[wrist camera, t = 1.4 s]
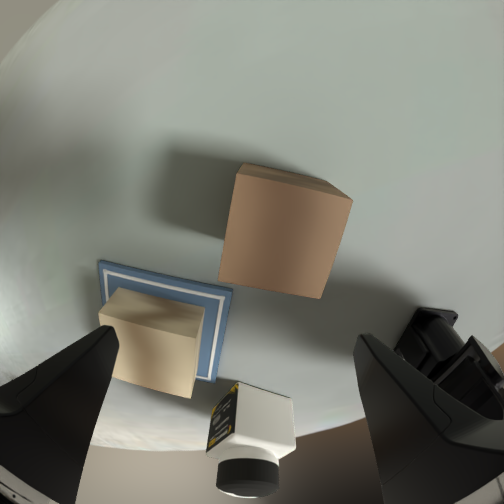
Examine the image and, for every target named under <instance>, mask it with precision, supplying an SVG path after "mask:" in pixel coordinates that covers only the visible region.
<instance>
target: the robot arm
mask: <svg viewBox="0 0 504 504" xmlns="http://www.w3.org/2000/svg"><path fill="white" fill-rule="evenodd" d="M457 318H458V314H457V313H456V312H450V311H442V310H434V309H427V308H419V309H418V310H417V311H416V313H415V315H414V317H413V318H412V320H411V322H410V324H409V326H408V327H407V329H406V331H405V333H404V334H403V336H402V338H401V339H400V341H399V343H398V344H397V346H396V348H395V349H394V351H392V350H391V349H390V348H388V347H387V346H386V345H384V344H383V343H382V342H381V341H379V340H378V339H377V338H375V337H374V336H373V335H371V334H360V335H359V336H358V339H357V342H356V345H355V348H354V352H353V356H354V362H355V368H356V375H357V381H358V387H359V392H360V397H361V400H362V404H363V408H364V412H365V415H366V419H367V423H368V427H369V431H370V436H371V440H372V444H373V448H374V452H375V457H376V462H377V466H378V471H379V476H380V481H381V485H382V493H383V498H384V504H504V388H503V386H504V374H503V372H502V370H501V368H500V366H499V364H498V362H497V361H496V359H495V358H494V356H493V355H492V354H491V353H490V351H489V350H488V349H487V348H486V347H485V346H484V345H483V344H482V343H481V342H480V341H478V340H477V339H476V338H475V337H474V336H473V335H471V337H470V338H469V339H468V341H467V342H466V344H465V343H464V342H463V340H462V339H461V338H460V336H459V335H458V334H457V332H456V331H455V330H454V329H453V325H454V323H455V322H456V320H457ZM119 346H120V345H119V340H118V337H117V334H116V331H115V329H114V327H113V326H110V325H102V326H101V327H99V328H97V329H96V330H94V331H92V332H91V333H89V334H88V335H86V336H84V337H83V338H81V339H79V340H78V341H76V342H74V343H73V344H71V345H70V346H68V347H66V348H65V349H63V350H62V351H60V352H58V353H57V354H55V355H53V356H52V357H50V358H49V359H47V360H45V361H44V362H42V363H41V364H39V365H38V366H36V367H34V368H33V369H31V370H29V371H28V372H26V373H24V374H23V375H21V376H19V377H17V378H16V379H14V380H12V381H10V382H8V383H6V384H4V385H2V386H0V504H49V501H50V499H52V500H54V501H55V502H57V503H59V504H75V501H76V496H77V492H78V487H79V483H80V479H81V475H82V471H83V466H84V463H85V459H86V455H87V451H88V448H89V445H90V441H91V438H92V435H93V431H94V428H95V425H96V422H97V419H98V416H99V413H100V410H101V407H102V404H103V401H104V398H105V395H106V392H107V390H108V387H109V384H110V381H111V378H112V374H113V370H114V366H115V362H116V358H117V355H118V351H119Z"/></svg>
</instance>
